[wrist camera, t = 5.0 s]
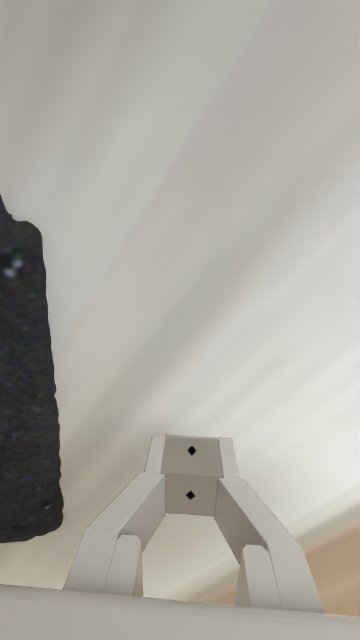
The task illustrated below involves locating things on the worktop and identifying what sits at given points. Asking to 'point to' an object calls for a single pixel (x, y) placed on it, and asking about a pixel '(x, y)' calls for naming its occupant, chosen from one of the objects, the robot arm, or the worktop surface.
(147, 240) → the worktop surface
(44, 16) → the worktop surface
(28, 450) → the dark slate chunk
